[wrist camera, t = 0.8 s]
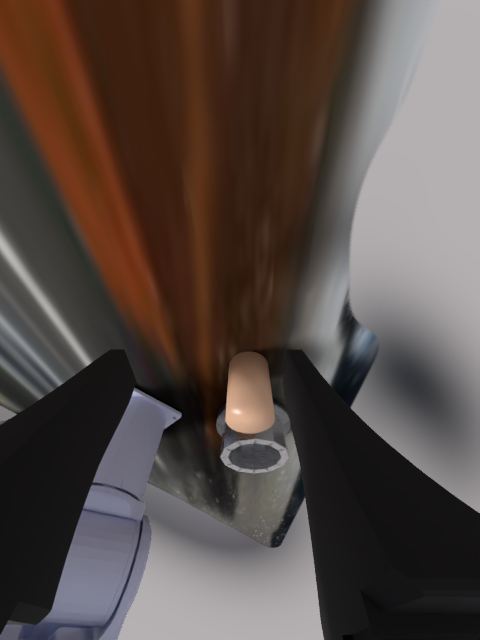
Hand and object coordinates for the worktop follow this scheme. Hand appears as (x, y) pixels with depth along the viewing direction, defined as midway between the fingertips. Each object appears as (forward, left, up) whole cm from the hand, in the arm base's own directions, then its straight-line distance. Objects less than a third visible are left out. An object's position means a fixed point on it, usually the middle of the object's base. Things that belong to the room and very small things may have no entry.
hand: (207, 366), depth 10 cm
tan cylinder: (-5, -8, -9) cm, 13 cm away
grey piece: (-11, -15, -9) cm, 21 cm away
